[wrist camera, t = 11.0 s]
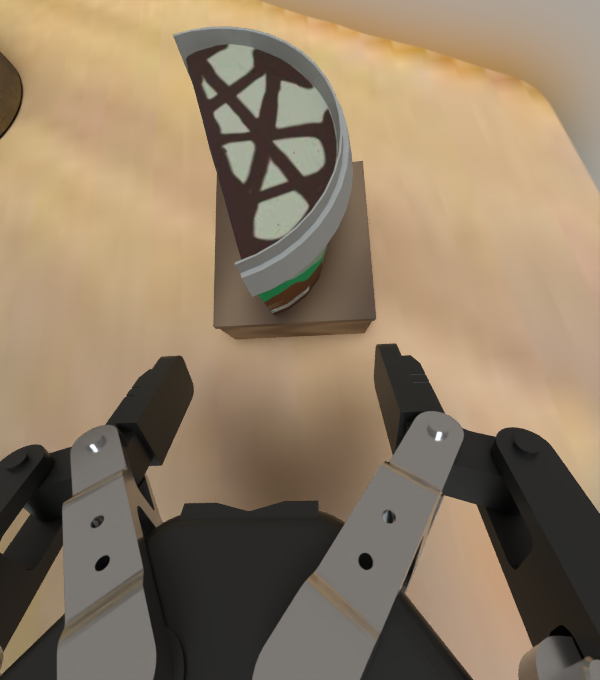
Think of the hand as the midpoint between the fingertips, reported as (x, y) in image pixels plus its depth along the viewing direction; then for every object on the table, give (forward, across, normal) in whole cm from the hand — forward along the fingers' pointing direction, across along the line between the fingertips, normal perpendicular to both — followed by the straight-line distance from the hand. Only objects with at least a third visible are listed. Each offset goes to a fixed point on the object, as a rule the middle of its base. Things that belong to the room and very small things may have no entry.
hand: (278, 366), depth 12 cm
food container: (+12, 0, -2) cm, 12 cm away
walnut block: (+16, 0, +2) cm, 16 cm away
